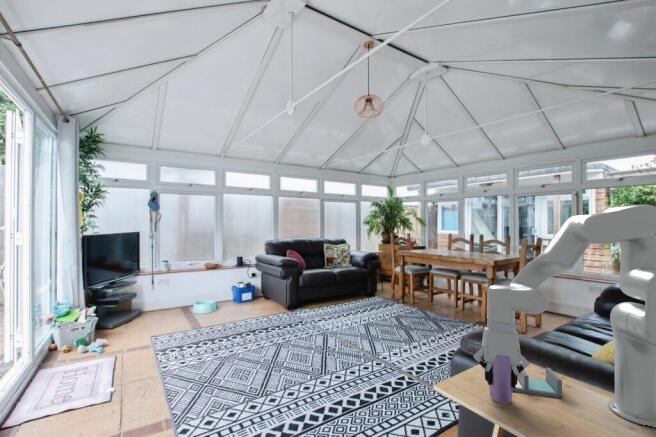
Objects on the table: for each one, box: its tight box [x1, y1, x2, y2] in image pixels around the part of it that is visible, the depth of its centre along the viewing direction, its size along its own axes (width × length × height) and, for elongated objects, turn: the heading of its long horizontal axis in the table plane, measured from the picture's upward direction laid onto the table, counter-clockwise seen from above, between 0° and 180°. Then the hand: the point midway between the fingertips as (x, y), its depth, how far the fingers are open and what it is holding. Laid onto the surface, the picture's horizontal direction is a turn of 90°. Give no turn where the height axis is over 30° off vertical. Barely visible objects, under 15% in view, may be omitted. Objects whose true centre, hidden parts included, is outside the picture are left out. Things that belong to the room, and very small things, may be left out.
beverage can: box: [489, 353, 513, 405], centre depth 96 cm, size 6×6×15 cm
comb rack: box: [512, 367, 563, 399], centre depth 104 cm, size 20×9×6 cm, turn 74°
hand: (500, 384), depth 96 cm, fingers closed on beverage can, 6 cm apart
